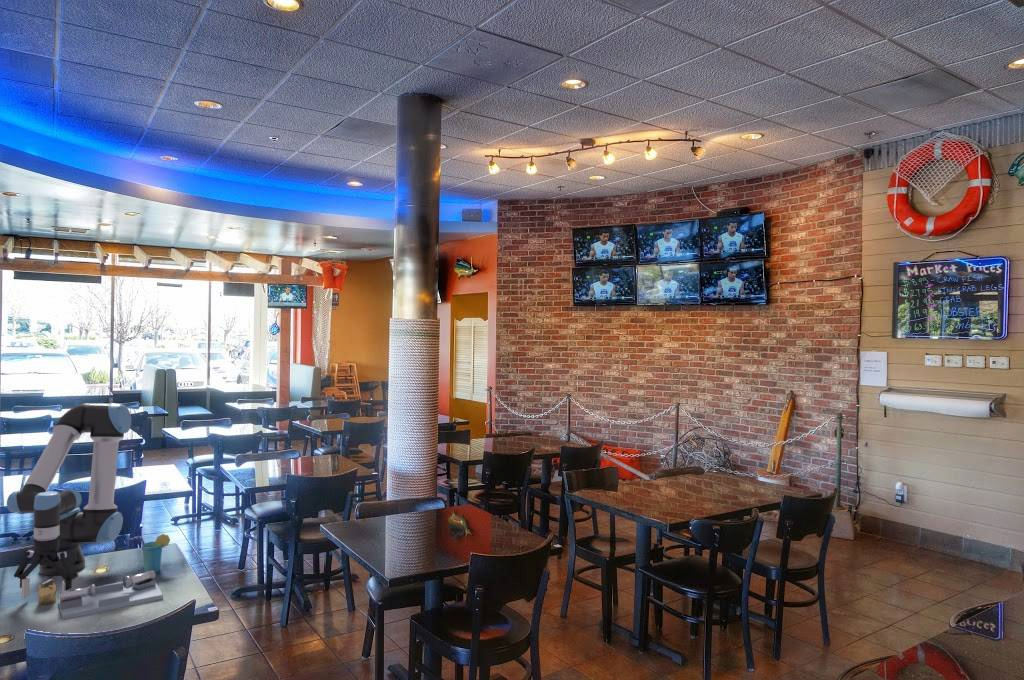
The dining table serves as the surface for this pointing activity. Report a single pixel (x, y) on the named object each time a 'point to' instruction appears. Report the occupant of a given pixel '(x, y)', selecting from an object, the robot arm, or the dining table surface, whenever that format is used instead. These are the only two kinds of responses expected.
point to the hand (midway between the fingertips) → (45, 599)
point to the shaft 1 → (78, 593)
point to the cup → (153, 552)
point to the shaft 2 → (140, 581)
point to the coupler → (47, 593)
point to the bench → (108, 600)
